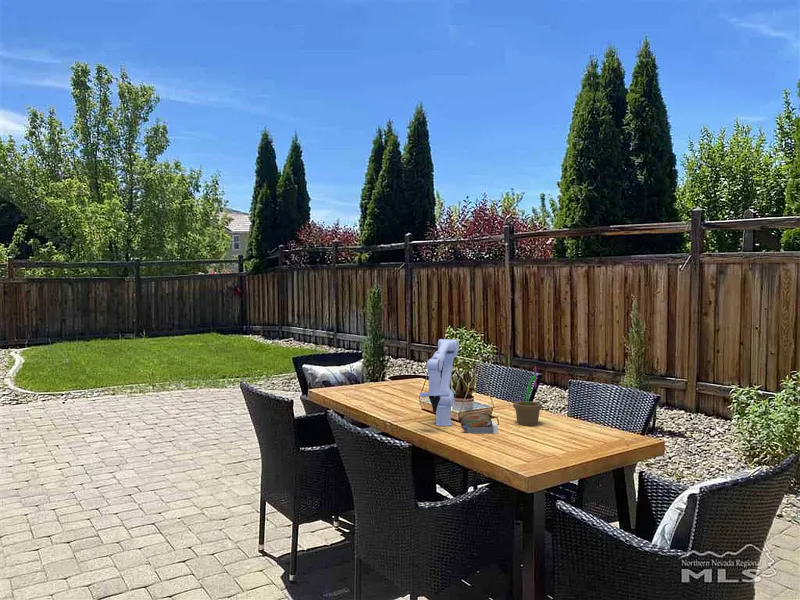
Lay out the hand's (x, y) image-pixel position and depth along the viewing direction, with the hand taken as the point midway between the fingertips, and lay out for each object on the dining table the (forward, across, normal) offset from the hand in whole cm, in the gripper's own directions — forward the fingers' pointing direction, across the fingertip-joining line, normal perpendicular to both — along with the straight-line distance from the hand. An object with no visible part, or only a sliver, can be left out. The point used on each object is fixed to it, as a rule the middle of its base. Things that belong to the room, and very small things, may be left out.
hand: (434, 411), depth 285 cm
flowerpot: (+10, +49, +13) cm, 52 cm away
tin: (+10, +20, -2) cm, 22 cm away
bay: (+9, +21, -2) cm, 23 cm away
